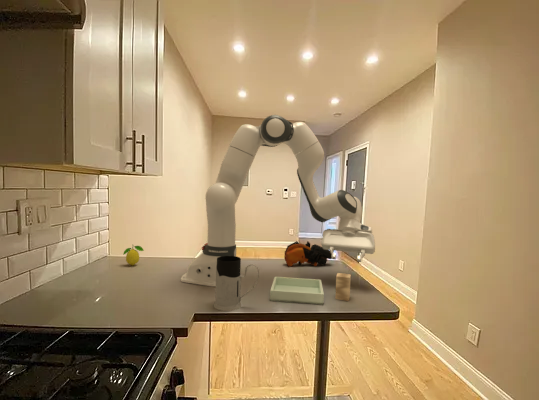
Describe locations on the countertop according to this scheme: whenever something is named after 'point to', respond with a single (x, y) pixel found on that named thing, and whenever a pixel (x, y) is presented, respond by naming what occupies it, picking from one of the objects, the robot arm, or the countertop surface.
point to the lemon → (132, 255)
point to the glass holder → (229, 283)
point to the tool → (306, 254)
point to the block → (343, 286)
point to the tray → (297, 290)
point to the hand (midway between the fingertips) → (346, 259)
